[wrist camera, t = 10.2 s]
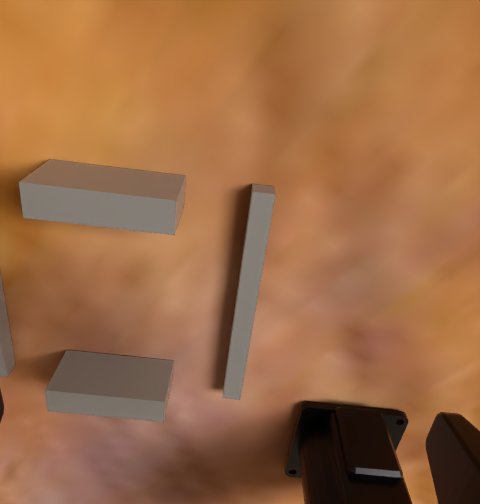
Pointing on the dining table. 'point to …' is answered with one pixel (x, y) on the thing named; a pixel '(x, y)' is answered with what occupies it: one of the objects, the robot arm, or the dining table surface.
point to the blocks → (146, 220)
